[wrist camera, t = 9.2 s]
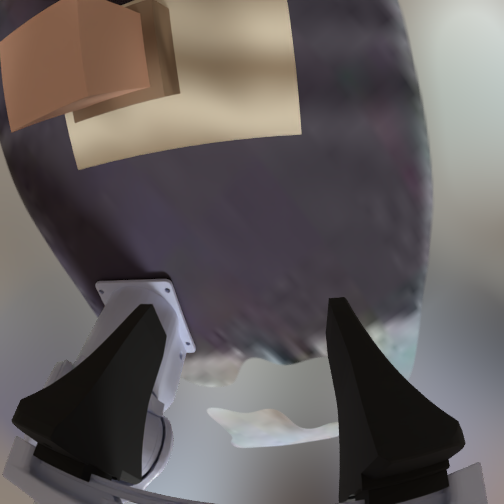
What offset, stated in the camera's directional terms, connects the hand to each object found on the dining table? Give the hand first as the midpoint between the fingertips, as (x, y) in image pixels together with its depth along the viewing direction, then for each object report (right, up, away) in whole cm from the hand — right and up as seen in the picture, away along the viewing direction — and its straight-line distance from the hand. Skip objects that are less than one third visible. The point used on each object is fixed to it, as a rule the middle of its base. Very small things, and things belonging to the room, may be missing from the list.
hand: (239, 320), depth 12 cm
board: (-5, +14, +3) cm, 16 cm away
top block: (-7, +13, 0) cm, 15 cm away
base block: (-7, +15, +3) cm, 17 cm away
